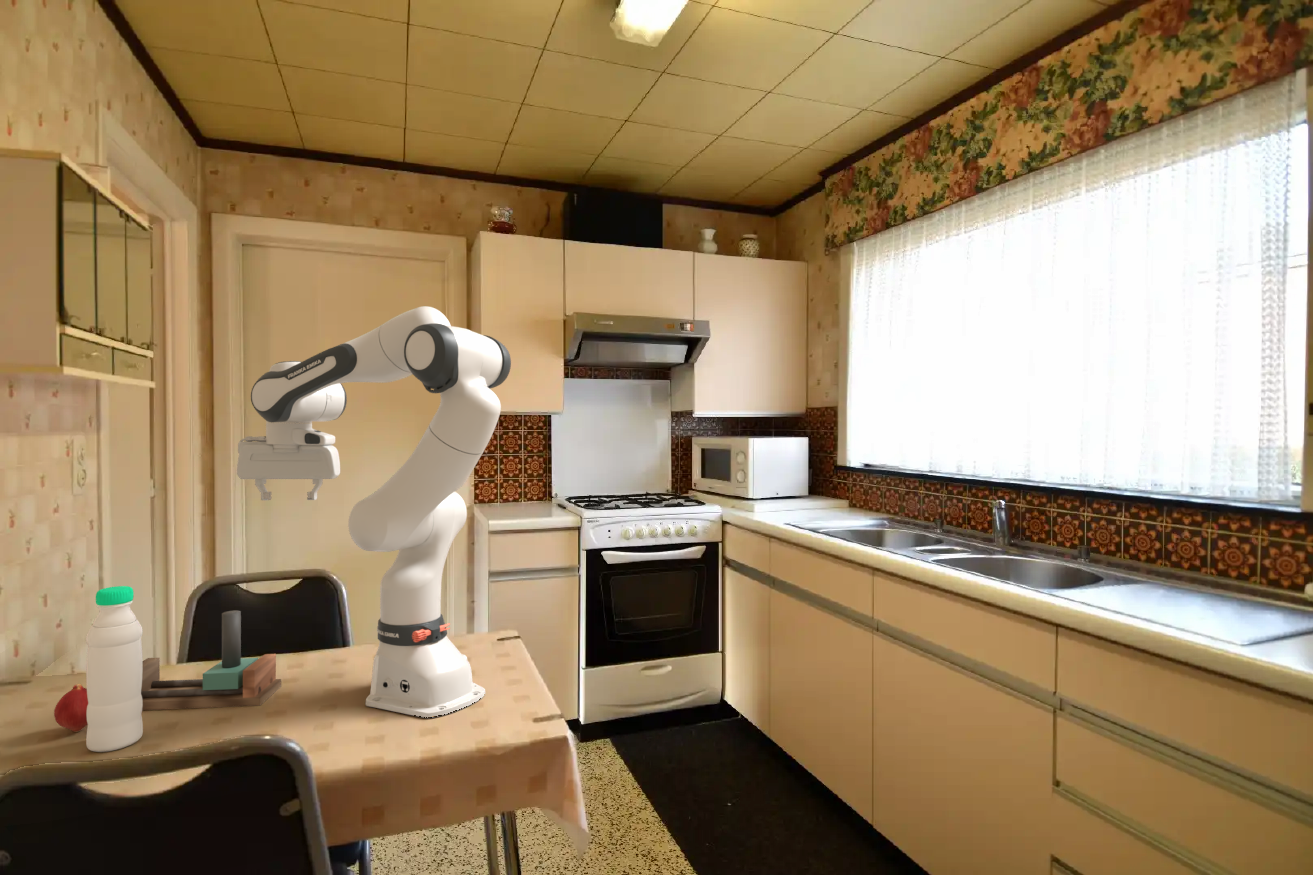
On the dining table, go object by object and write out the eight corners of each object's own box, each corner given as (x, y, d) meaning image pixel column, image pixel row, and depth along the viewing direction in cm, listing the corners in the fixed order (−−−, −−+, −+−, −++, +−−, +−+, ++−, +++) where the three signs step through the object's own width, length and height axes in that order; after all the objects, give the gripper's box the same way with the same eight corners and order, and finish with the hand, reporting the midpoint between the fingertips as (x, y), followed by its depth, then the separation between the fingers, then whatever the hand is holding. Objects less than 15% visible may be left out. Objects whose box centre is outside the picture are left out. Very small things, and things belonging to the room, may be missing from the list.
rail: (281, 686, 132) (281, 653, 132) (260, 705, 123) (260, 669, 123) (148, 691, 129) (148, 657, 129) (116, 711, 120) (116, 675, 120)
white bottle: (75, 748, 106) (75, 591, 105) (125, 730, 112) (124, 581, 112) (104, 757, 103) (104, 595, 103) (153, 737, 110) (152, 585, 109)
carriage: (258, 672, 131) (258, 606, 130) (237, 688, 123) (238, 618, 123) (225, 674, 130) (225, 607, 130) (202, 690, 122) (202, 619, 122)
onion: (52, 731, 112) (52, 683, 112) (96, 720, 116) (96, 674, 116) (56, 742, 108) (56, 693, 108) (102, 730, 112) (102, 683, 112)
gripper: (230, 436, 141) (230, 501, 142) (333, 437, 144) (332, 501, 144) (245, 436, 148) (245, 498, 148) (342, 436, 150) (342, 498, 151)
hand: (289, 499), depth 146 cm, fingers open, 8 cm apart
